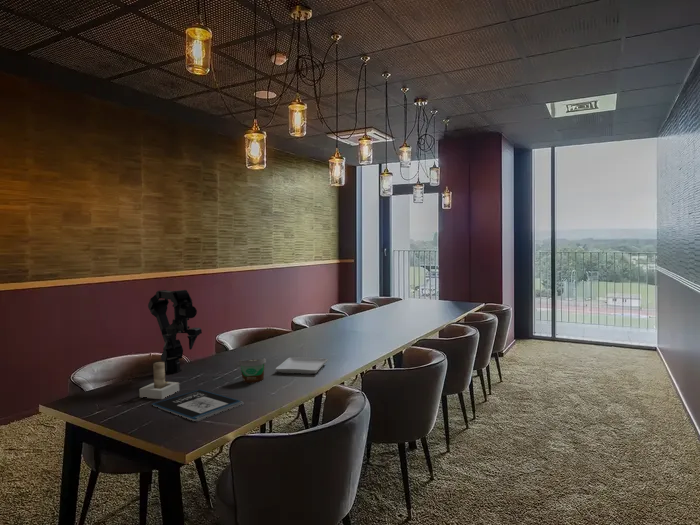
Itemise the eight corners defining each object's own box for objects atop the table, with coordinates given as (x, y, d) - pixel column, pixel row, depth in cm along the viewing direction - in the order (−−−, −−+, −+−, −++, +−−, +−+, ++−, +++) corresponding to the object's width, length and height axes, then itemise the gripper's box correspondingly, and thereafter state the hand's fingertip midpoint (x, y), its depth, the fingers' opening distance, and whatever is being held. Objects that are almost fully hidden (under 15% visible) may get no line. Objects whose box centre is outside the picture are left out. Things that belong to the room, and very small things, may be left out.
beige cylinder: (152, 393, 195) (151, 363, 194) (163, 391, 198) (162, 361, 197) (156, 396, 191) (155, 365, 191) (167, 393, 194) (166, 363, 194)
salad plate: (317, 376, 215) (317, 369, 215) (274, 375, 219) (274, 368, 219) (328, 364, 236) (328, 358, 236) (289, 363, 240) (289, 357, 240)
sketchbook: (199, 392, 198) (199, 387, 197) (245, 406, 179) (245, 400, 179) (151, 406, 181) (151, 401, 181) (196, 423, 162) (196, 417, 162)
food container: (239, 385, 204) (239, 362, 203) (239, 381, 210) (238, 359, 209) (268, 382, 207) (267, 360, 207) (266, 378, 213) (266, 357, 213)
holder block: (139, 397, 191) (139, 388, 191) (157, 388, 201) (157, 380, 201) (162, 399, 188) (161, 390, 187) (179, 390, 198) (179, 382, 198)
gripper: (152, 319, 214) (154, 352, 215) (187, 319, 209) (188, 353, 209) (168, 315, 225) (170, 347, 225) (201, 315, 219) (203, 348, 220)
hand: (182, 349), depth 220 cm, fingers open, 9 cm apart
